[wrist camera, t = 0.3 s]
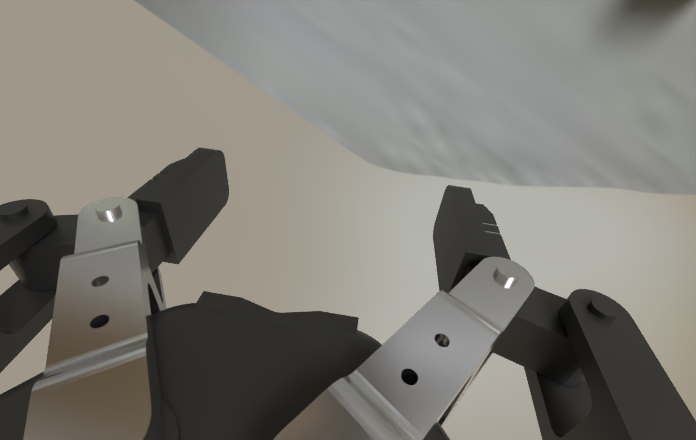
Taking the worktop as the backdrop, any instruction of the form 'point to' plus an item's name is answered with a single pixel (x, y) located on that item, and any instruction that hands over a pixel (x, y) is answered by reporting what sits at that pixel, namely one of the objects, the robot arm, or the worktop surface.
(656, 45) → the worktop surface
